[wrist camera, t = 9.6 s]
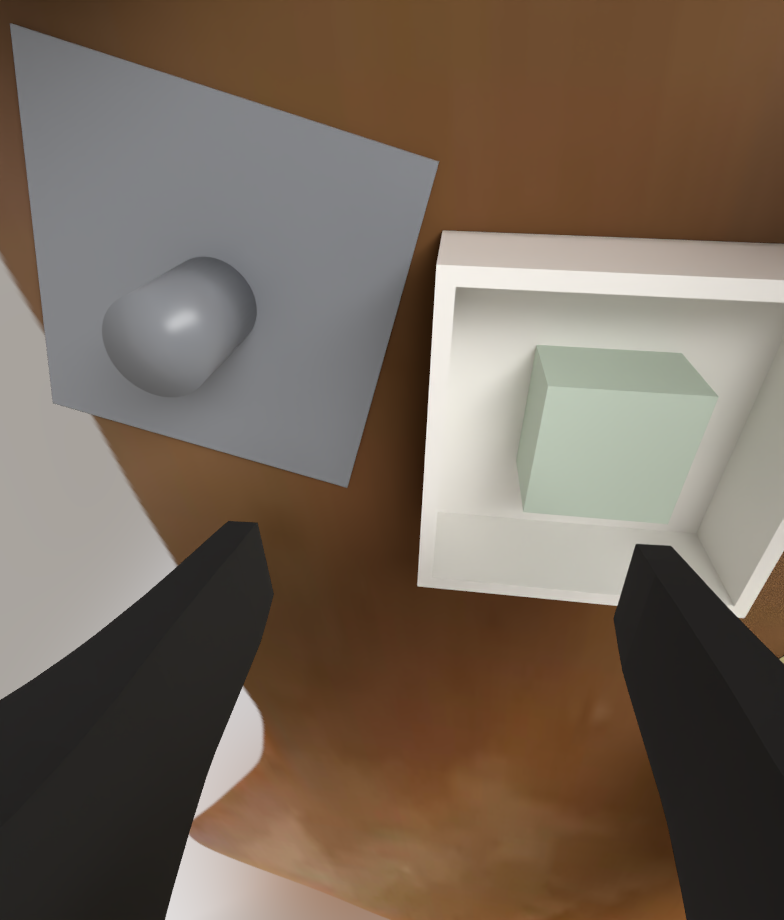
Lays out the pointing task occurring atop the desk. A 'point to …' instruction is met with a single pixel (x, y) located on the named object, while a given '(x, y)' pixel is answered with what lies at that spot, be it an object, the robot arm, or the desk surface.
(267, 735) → the desk surface
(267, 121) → the gray lid
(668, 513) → the sage block
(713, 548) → the white open box
